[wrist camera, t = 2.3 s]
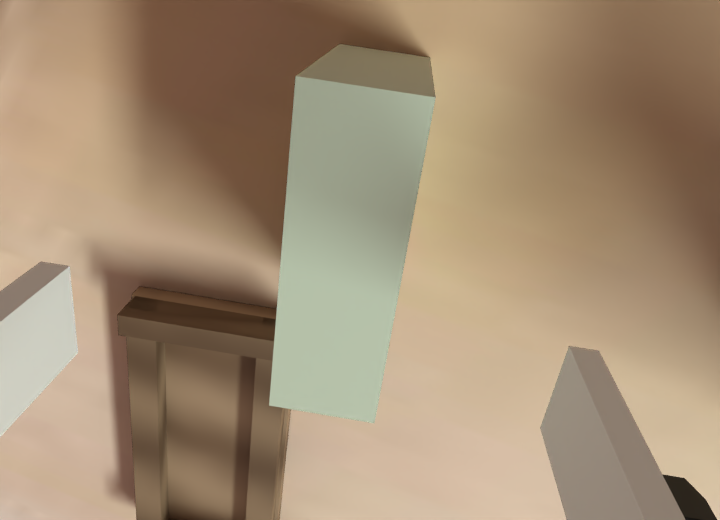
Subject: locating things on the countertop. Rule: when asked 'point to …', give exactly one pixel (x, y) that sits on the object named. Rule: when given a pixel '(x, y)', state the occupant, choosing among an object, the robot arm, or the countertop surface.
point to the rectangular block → (347, 225)
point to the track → (203, 408)
